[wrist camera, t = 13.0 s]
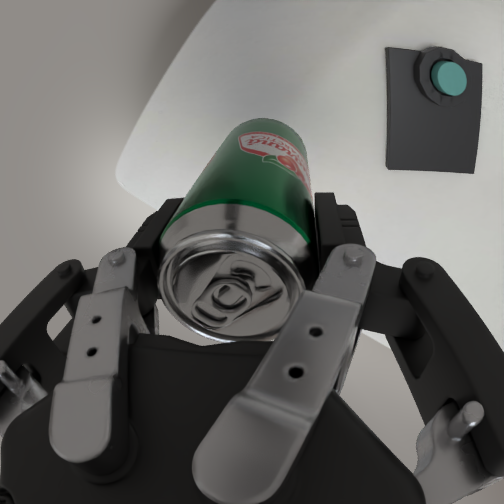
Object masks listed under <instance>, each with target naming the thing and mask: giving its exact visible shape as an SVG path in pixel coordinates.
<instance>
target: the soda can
mask: <svg viewBox="0 0 504 504" xmlns="http://www.w3.org/2000/svg"><path fill="white" fill-rule="evenodd" d="M157 261H158V267H159V268H158V275H157V285H158V291H159V294H160V297H161V299H162V301H163V303H164V305H165V306H166V308H167V309H168V311H169V312H170V313H171V314H172V315H173V316H174V317H175V319H177V320H178V321H179V322H180V323H181V324H182V325H184V326H185V327H187V328H188V329H190V330H191V331H193V332H195V333H197V334H199V335H201V336H203V337H206V338H208V339H211V340H215V341H218V342H222V343H228V342H234V341H240V340H247V341H271V340H273V339H275V338H276V336H277V334H278V333H279V331H280V329H281V328H282V326H283V324H284V322H285V321H286V319H287V317H288V315H289V314H290V312H291V310H292V308H293V307H294V305H295V303H296V301H297V300H298V298H299V296H300V294H301V293H302V291H303V290H304V289H308V290H312V289H313V287H314V285H315V283H316V281H317V279H318V277H319V259H318V247H317V237H316V227H315V217H314V208H313V199H312V191H311V183H310V175H309V167H308V160H307V153H306V149H305V146H304V143H303V141H302V139H301V138H300V137H299V135H298V134H297V133H296V132H295V131H294V130H293V129H292V128H290V127H289V126H288V125H286V124H284V123H282V122H280V121H277V120H274V119H267V118H258V119H252V120H249V121H246V122H244V123H242V124H240V125H239V126H237V127H236V128H234V129H233V130H232V131H231V133H230V134H229V135H228V136H227V138H226V139H225V140H224V142H223V143H222V145H221V146H220V147H219V149H218V150H217V152H216V153H215V154H214V156H213V157H212V159H211V160H210V161H209V163H208V164H207V166H206V167H205V169H204V170H203V171H202V173H201V174H200V176H199V177H198V179H197V180H196V182H195V183H194V185H193V186H192V188H191V189H190V191H189V192H188V194H187V195H186V197H185V198H184V200H183V201H182V203H181V204H180V206H179V207H178V209H177V210H176V212H175V213H174V215H173V217H172V218H171V220H170V221H169V223H168V224H167V226H166V228H165V230H164V231H163V233H162V235H161V238H160V241H159V244H158V250H157Z"/></svg>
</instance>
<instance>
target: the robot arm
mask: <svg viewBox="0 0 504 504" xmlns="http://www.w3.org/2000/svg"><path fill="white" fill-rule="evenodd" d="M183 200H184V198H175V199H167V200H166V201H165V202H164V204H163V205H162V206H161V208H160V209H159V210H158V211H156V212H155V213H153V214H152V215H150V216H149V217H148V218H147V219H146V220H145V222H144V223H143V224H142V226H141V227H140V228H139V229H138V232H136V234H135V235H134V236H133V238H132V239H131V240H130V242H129V243H128V245H127V246H126V247H123V248H118V249H115V250H113V251H111V252H109V253H107V254H106V255H105V256H104V257H103V258H102V259H101V261H100V263H99V267H96V268H92V269H88V270H84V268H83V266H82V264H81V262H80V261H79V260H76V259H72V260H68V261H65V262H63V263H61V264H60V265H58V266H57V267H56V268H55V269H54V270H53V271H52V272H50V273H49V274H48V275H47V277H45V278H44V279H43V280H42V281H41V282H40V283H39V284H38V285H37V286H36V287H35V288H34V289H33V290H32V291H31V292H30V293H29V294H28V295H27V296H26V297H25V298H24V300H23V301H22V302H21V303H20V304H19V305H18V306H17V307H16V308H15V309H14V310H13V311H12V312H11V313H10V314H9V316H8V317H7V318H6V319H5V320H4V321H3V322H2V323H1V324H0V435H1V436H2V437H3V439H2V444H1V475H0V504H452V503H454V502H456V501H458V500H460V499H461V498H463V497H465V496H468V495H471V494H473V493H475V492H477V491H479V490H482V489H483V488H486V487H488V486H490V485H492V484H494V483H495V482H497V481H499V480H501V479H503V478H504V352H503V351H502V349H501V348H500V346H499V344H498V343H497V341H496V340H495V338H494V337H493V335H492V334H491V332H490V331H489V329H488V328H487V326H486V325H485V323H484V322H483V321H482V319H481V318H480V316H479V315H478V314H477V312H476V311H475V309H474V308H473V307H472V305H471V304H470V303H469V301H468V300H467V298H466V297H465V296H464V294H463V293H462V292H461V291H460V289H459V288H458V287H457V285H456V284H455V283H454V282H453V280H452V279H451V278H450V276H449V275H448V274H447V273H446V271H445V270H444V269H443V268H442V267H441V266H440V265H439V264H438V263H436V262H435V261H433V260H430V259H427V258H422V257H415V258H411V259H408V260H407V261H406V262H405V263H404V264H403V267H402V269H401V268H396V267H391V266H387V265H384V264H381V263H379V262H377V261H376V256H375V254H374V253H373V252H372V251H371V250H370V249H369V248H367V247H366V245H365V241H364V238H363V235H362V232H361V228H360V225H359V222H358V219H357V216H356V213H355V211H354V210H353V209H352V208H351V207H349V206H348V205H337V204H336V200H335V196H334V193H315V227H316V237H317V247H318V259H319V277H318V279H317V281H316V283H315V285H314V287H313V289H312V290H308V289H304V290H303V291H302V293H301V294H300V296H299V298H298V300H297V301H296V303H295V305H294V307H293V308H292V310H291V312H290V314H289V315H288V317H287V319H286V321H285V322H284V324H283V326H282V328H281V329H280V331H279V333H278V334H277V336H276V338H275V339H274V341H247V340H240V341H234V342H228V343H221V344H214V345H207V346H199V345H196V344H193V343H189V342H187V341H184V340H180V339H177V338H174V337H172V336H166V335H159V320H158V309H157V307H156V304H155V303H156V301H157V299H161V297H160V294H159V291H158V285H157V275H158V268H159V267H158V261H157V250H158V244H159V241H160V238H161V235H162V233H163V231H164V230H165V228H166V226H167V224H168V223H169V221H170V220H171V218H172V217H173V215H174V213H175V212H176V210H177V209H178V207H179V206H180V204H181V203H182V201H183ZM63 305H65V306H66V308H67V310H68V311H69V313H70V315H71V316H72V319H71V320H70V321H69V323H68V324H67V325H66V326H65V327H64V328H63V330H62V331H61V332H60V333H59V334H58V336H57V337H56V338H55V339H54V340H53V341H52V339H51V338H50V337H49V335H48V333H47V324H48V322H49V321H50V319H51V318H52V317H53V316H54V315H55V314H56V313H57V311H58V310H59V309H60V308H61V307H62V306H63ZM362 329H364V330H368V331H372V332H377V333H381V334H385V336H386V339H387V341H388V343H389V345H390V347H391V349H392V351H393V353H394V355H395V358H396V360H397V362H398V364H399V366H400V368H401V371H402V373H403V375H404V377H405V380H406V382H407V384H408V386H409V389H410V391H411V393H412V395H413V398H414V400H415V402H416V405H417V407H418V409H419V412H420V414H421V417H422V419H423V421H424V424H425V427H424V428H423V429H422V430H421V432H420V433H419V435H418V438H417V442H416V450H417V455H418V462H417V467H416V469H415V471H414V473H412V472H411V471H410V470H409V469H408V468H407V467H406V466H405V465H404V464H403V463H402V462H401V461H400V460H399V459H398V458H397V457H396V456H395V455H394V454H393V453H392V452H391V451H390V450H389V448H388V447H387V446H386V445H385V444H384V443H383V442H382V441H381V440H380V439H379V438H378V437H377V436H376V435H375V434H374V433H373V431H372V430H370V428H369V427H368V426H367V425H366V424H365V423H364V422H363V421H362V420H361V419H360V418H359V416H358V415H357V414H356V413H355V412H354V411H353V410H352V409H351V408H350V407H349V406H348V404H347V403H346V402H345V401H344V400H343V399H342V398H341V397H340V396H339V395H340V392H341V390H342V387H343V384H344V381H345V378H346V375H347V372H348V369H349V366H350V363H351V360H352V357H353V355H354V352H355V349H356V346H357V343H358V340H359V337H360V334H361V331H362Z"/></svg>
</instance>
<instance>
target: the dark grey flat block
mask: <svg viewBox="0 0 504 504" xmlns="http://www.w3.org/2000/svg"><path fill="white" fill-rule="evenodd" d="M385 50H386V68H387V154H386V167H387V168H388V170H416V171H438V172H455V173H469V174H474V169H475V163H476V156H477V148H478V140H479V130H480V118H481V103H482V63H478V62H474V61H469V60H465V59H463V58H462V57H461V56H460V55H459V54H457V53H456V52H455V51H454V50H452V49H447V48H442V47H430V48H428V49H426V50H424V51H415V50H408V49H399V48H389V47H388V48H385ZM439 61H449V62H454V63H456V64H458V65H459V66H460V67H461V68H462V69H463V70H464V72H465V75H466V79H467V84H466V88H465V90H464V91H463V92H462V93H461V94H459V95H456V96H452V95H448V94H446V93H443V92H441V91H439V90H438V89H437V88H436V87H435V86H434V84H433V82H432V78H431V71H432V68H433V66H434V65H435V64H436V63H437V62H439Z"/></svg>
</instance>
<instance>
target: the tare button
mask: <svg viewBox="0 0 504 504" xmlns="http://www.w3.org/2000/svg"><path fill="white" fill-rule="evenodd" d="M431 78H432V82H433V84H434V86H435V87H436V88H437V89H438V90H439V91H441V92H443V93H446V94H448V95H452V96H456V95H459V94H461V93H462V92H463V91H464V90H465V88H466V84H467V79H466V75H465V72H464V70H463V69H462V68H461V67H460V66H459V65H458V64H456V63H454V62H449V61H439V62H437V63H436V64H435V65H434V66H433V68H432V71H431Z"/></svg>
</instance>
